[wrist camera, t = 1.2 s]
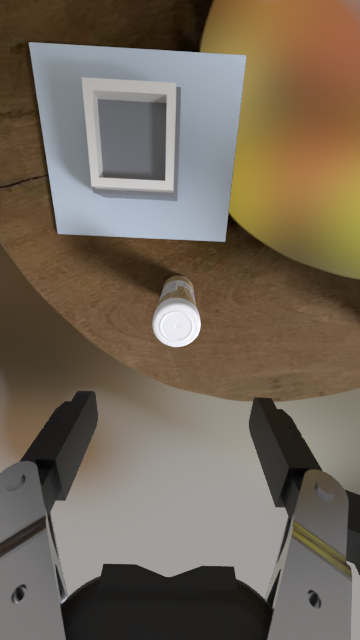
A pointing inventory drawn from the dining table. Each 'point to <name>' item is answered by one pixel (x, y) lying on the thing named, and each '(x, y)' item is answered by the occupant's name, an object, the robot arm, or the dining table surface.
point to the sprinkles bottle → (176, 313)
